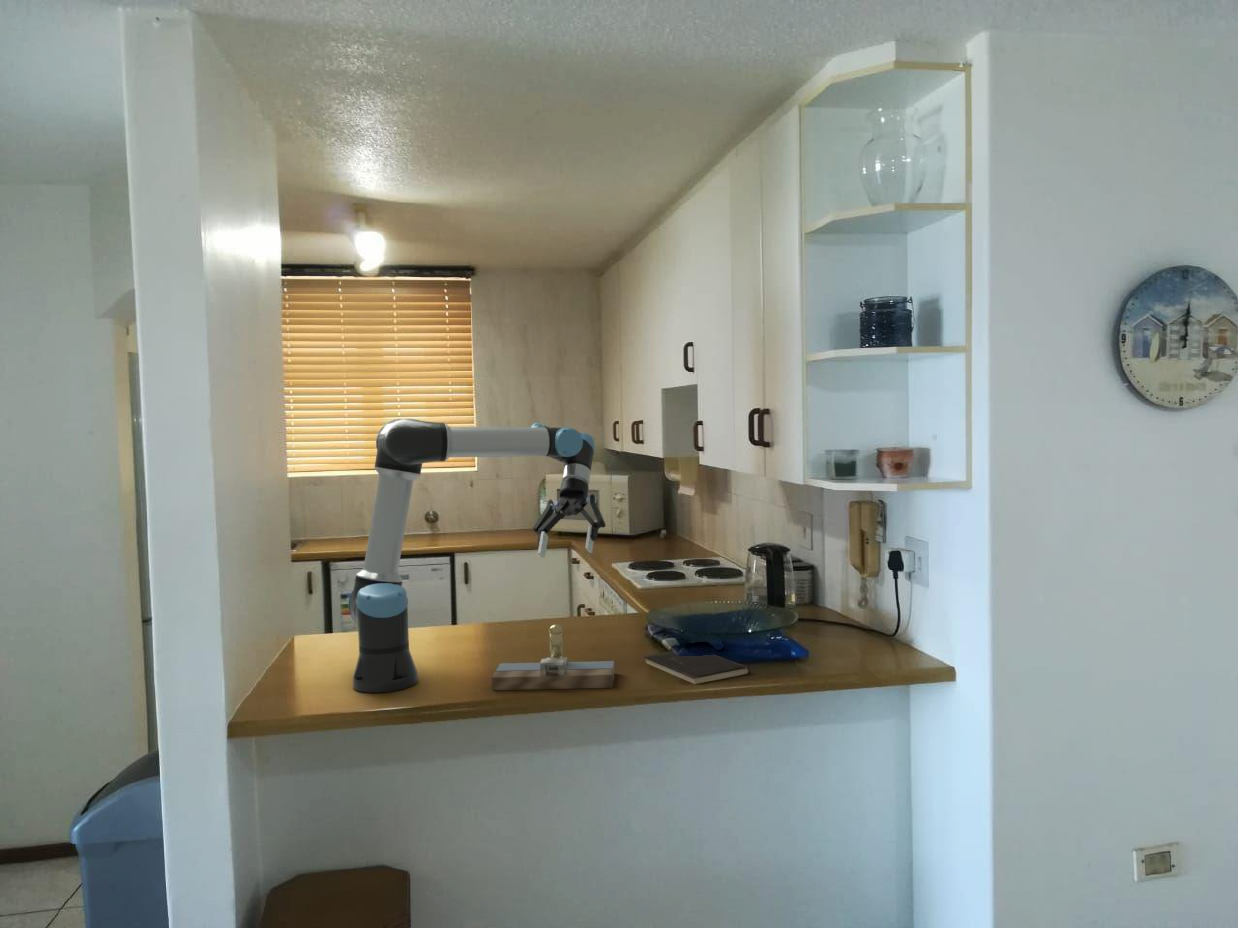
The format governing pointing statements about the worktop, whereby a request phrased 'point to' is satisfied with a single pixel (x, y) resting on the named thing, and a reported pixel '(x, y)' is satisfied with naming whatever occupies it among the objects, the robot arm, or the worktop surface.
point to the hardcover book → (696, 666)
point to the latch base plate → (567, 667)
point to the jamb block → (552, 678)
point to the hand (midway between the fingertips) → (564, 553)
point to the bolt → (555, 643)
